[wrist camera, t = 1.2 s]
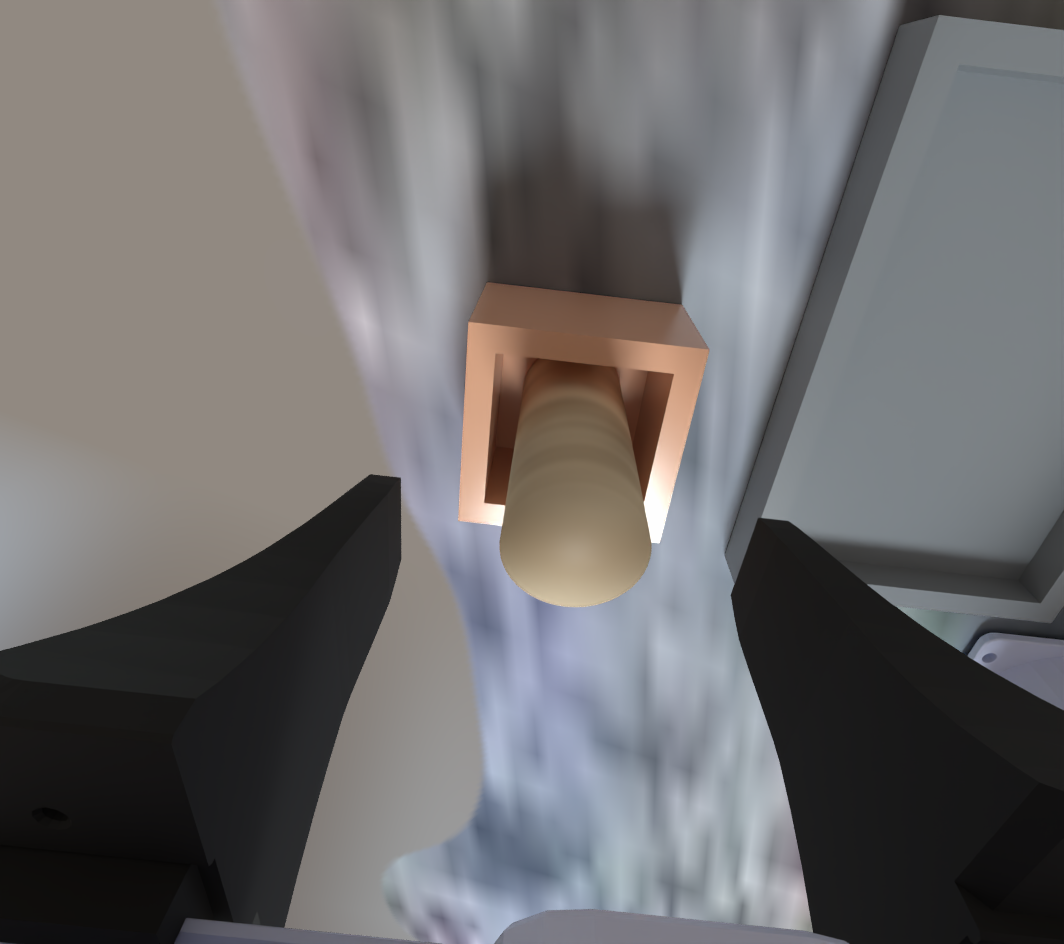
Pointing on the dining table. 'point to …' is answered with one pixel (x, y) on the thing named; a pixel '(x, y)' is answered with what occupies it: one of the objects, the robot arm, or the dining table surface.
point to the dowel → (574, 489)
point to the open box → (582, 337)
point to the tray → (937, 338)
